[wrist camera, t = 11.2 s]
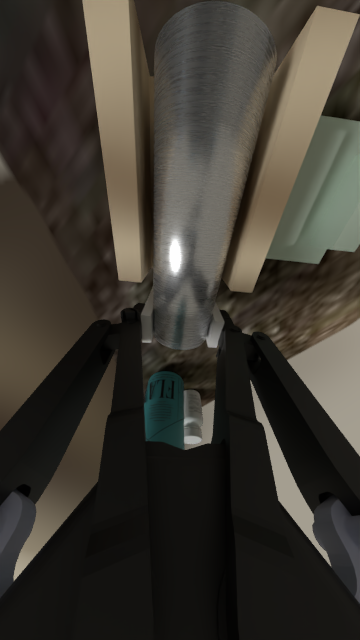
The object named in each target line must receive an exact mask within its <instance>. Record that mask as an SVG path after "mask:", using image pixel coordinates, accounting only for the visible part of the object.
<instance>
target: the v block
mask: <svg viewBox="0 0 360 640" xmlns="http://www.w3.org/2000/svg"><path fill="white" fill-rule="evenodd" d="M359 245H360V122H359V121H353V120H346V119H340V118H334V117H328V116H322V115H321V116H320V118H319V121H318V124H317V126H316V129H315V131H314V134H313V137H312V139H311V142H310V144H309V147H308V149H307V152H306V155H305V157H304V160H303V162H302V165H301V168H300V170H299V173H298V175H297V178H296V180H295V183H294V186H293V188H292V191H291V193H290V196H289V199H288V201H287V204H286V206H285V209H284V211H283V214H282V217H281V219H280V222H279V224H278V227H277V230H276V232H275V235H274V237H273V240H272V242H271V245H270V248H269V250H268V253H267V255H266V258H267V259H277V260H286V261H295V262H305V263H314V264H319V262H320V260H321V259H322V257H323V255H324V254H325V252H326V250H327V249H331V250H340V251H349V252H355V250H356V249H357V248H358V246H359Z"/></svg>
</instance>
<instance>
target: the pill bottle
mask: <svg viewBox="0 0 360 640" xmlns="http://www.w3.org/2000/svg"><path fill="white" fill-rule="evenodd" d="M184 396H185V403H184V443H186V444H196V443H199V442H201V441H202V434H201V433H202V432H201V429H200V427H201V426H202V424H203V417H202V408H201V399H200V394H199V393H198V392H197V391H195V390H191V389H189V390H184Z"/></svg>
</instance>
